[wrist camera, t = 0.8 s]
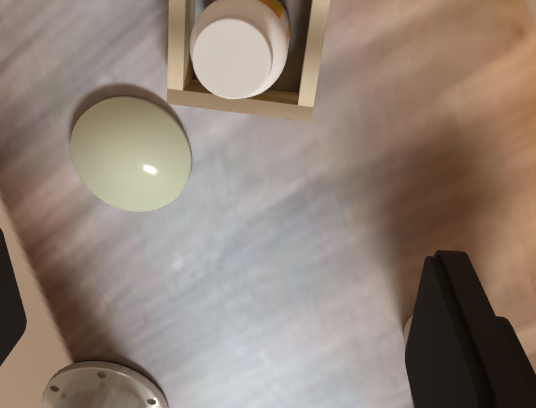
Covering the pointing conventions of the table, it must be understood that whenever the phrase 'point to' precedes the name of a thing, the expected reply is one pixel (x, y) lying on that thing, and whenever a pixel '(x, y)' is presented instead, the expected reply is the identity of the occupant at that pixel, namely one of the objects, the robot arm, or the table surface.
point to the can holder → (263, 104)
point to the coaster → (131, 153)
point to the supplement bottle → (240, 46)
